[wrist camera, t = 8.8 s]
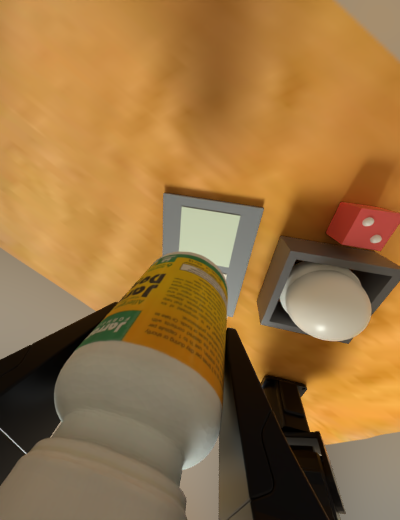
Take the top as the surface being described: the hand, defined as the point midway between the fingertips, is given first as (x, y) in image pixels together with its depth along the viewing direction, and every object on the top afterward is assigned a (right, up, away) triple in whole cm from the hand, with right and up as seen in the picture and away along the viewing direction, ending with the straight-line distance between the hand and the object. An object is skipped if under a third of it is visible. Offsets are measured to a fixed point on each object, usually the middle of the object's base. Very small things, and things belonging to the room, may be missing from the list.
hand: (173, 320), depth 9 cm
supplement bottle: (+1, +1, +3) cm, 3 cm away
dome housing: (+14, +3, +10) cm, 17 cm away
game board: (+1, 0, +14) cm, 14 cm away
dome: (+13, 0, +10) cm, 17 cm away
